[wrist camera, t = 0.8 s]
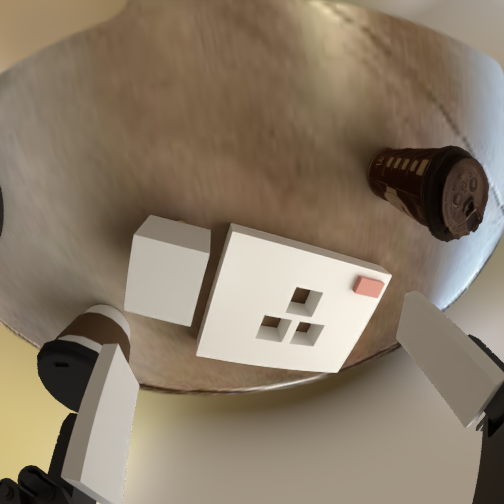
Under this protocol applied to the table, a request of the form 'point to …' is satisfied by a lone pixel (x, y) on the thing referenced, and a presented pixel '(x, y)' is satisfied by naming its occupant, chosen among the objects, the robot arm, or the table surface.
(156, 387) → the table surface
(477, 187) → the coffee cup
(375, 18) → the table surface
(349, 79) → the table surface
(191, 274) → the plug
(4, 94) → the table surface
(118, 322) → the coffee cup
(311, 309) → the socket plate
